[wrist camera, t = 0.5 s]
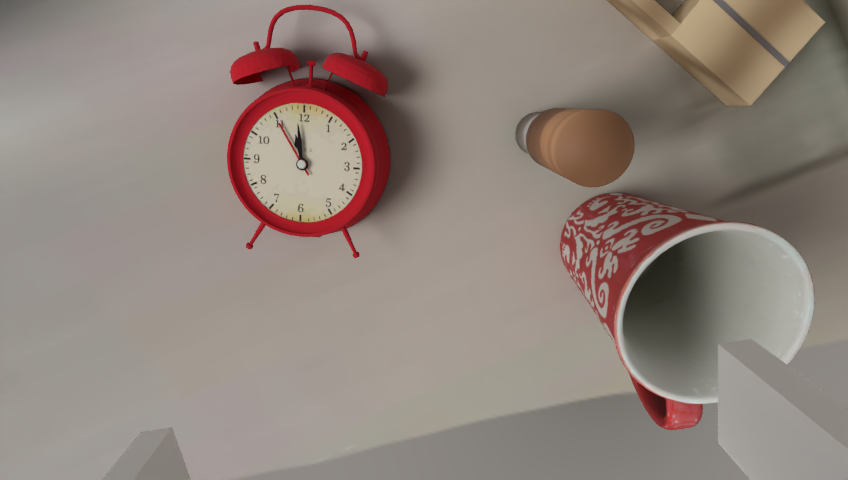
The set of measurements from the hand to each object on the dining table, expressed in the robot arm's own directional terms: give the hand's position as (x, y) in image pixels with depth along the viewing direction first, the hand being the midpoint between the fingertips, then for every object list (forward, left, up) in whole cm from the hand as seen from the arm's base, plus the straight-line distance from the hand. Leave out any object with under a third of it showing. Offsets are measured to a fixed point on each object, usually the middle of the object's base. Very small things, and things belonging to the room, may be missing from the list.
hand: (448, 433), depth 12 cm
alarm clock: (-10, 0, -24) cm, 26 cm away
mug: (+12, +5, -24) cm, 28 cm away
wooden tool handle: (+2, +9, -24) cm, 26 cm away
